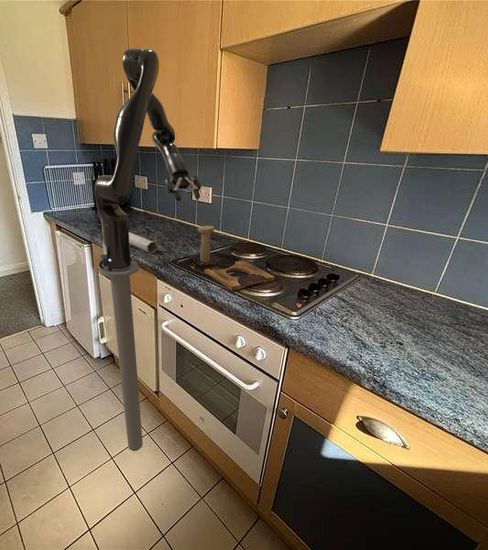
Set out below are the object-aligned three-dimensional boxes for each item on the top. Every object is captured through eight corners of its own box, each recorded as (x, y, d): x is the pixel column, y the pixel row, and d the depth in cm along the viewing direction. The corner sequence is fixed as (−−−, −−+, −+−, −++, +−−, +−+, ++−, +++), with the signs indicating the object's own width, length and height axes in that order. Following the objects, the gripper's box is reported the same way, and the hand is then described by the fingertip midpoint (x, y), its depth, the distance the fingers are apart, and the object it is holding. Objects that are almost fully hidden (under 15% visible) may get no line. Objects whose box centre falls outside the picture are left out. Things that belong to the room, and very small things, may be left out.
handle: (194, 264, 119) (195, 227, 113) (207, 261, 122) (208, 225, 116) (202, 268, 115) (203, 230, 109) (215, 264, 119) (216, 227, 113)
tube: (117, 233, 144) (145, 245, 127) (126, 228, 147) (155, 239, 129) (121, 243, 147) (149, 255, 130) (130, 237, 150) (159, 249, 132)
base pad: (231, 290, 98) (232, 286, 97) (203, 271, 112) (203, 268, 111) (274, 280, 105) (274, 276, 105) (242, 263, 120) (243, 260, 119)
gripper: (162, 161, 119) (175, 194, 114) (194, 160, 125) (207, 192, 120) (158, 174, 125) (170, 206, 120) (188, 172, 131) (200, 203, 127)
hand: (189, 199), depth 120 cm, fingers open, 8 cm apart
